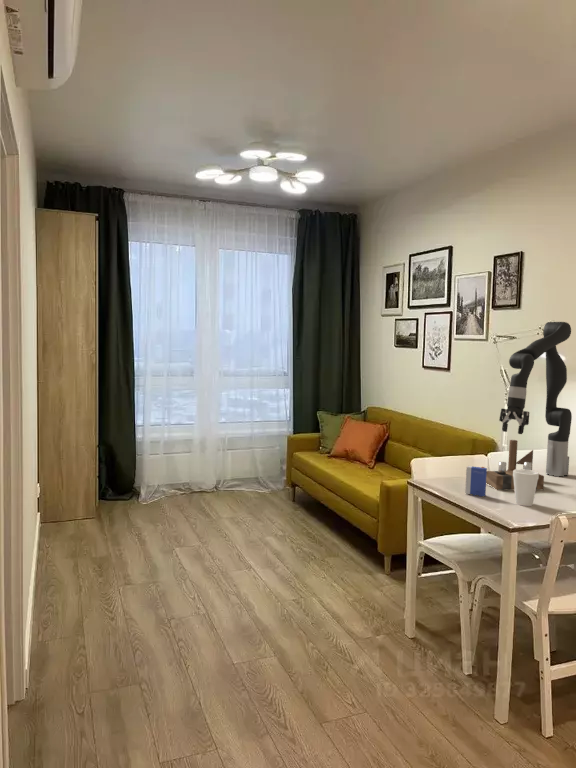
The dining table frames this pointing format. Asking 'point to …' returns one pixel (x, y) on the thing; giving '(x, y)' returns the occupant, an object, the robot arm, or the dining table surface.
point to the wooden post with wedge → (513, 456)
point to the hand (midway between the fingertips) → (512, 432)
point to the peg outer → (502, 468)
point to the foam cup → (525, 486)
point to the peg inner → (527, 465)
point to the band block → (507, 480)
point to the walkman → (476, 480)
